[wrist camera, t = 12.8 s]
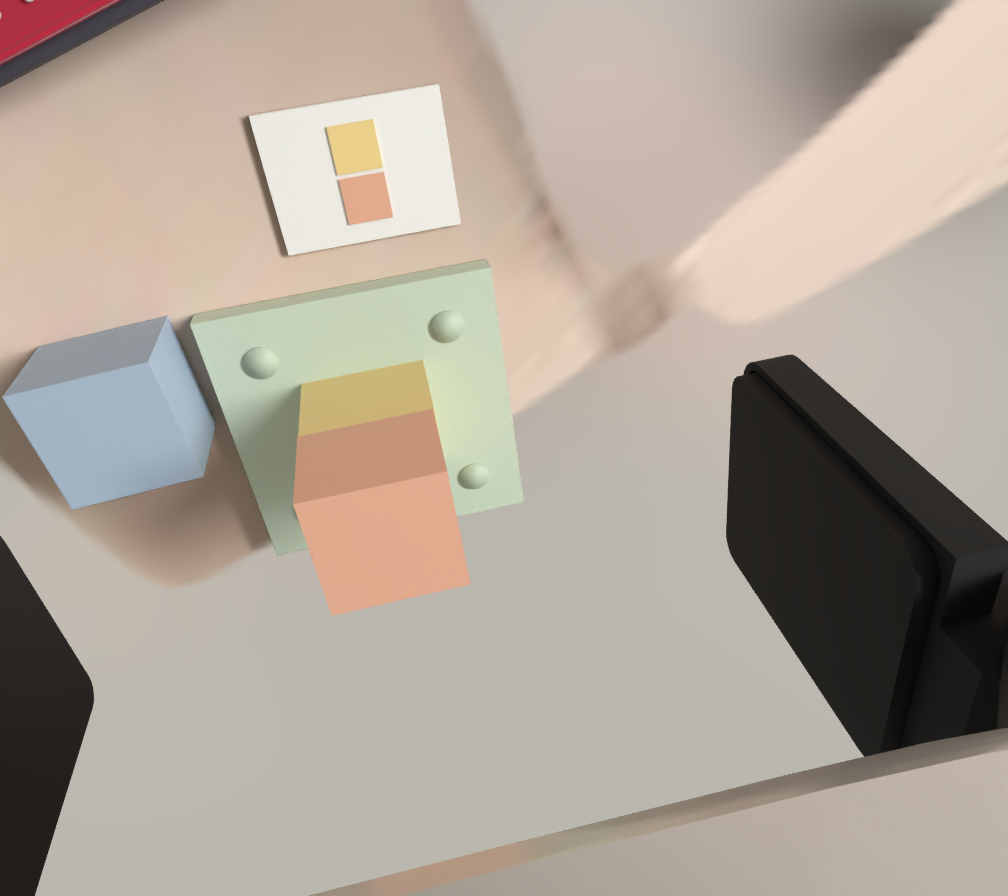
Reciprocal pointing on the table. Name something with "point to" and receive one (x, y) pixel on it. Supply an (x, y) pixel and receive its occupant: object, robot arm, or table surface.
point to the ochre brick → (364, 397)
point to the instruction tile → (358, 168)
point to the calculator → (54, 29)
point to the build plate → (361, 347)
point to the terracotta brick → (378, 512)
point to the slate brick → (114, 412)
